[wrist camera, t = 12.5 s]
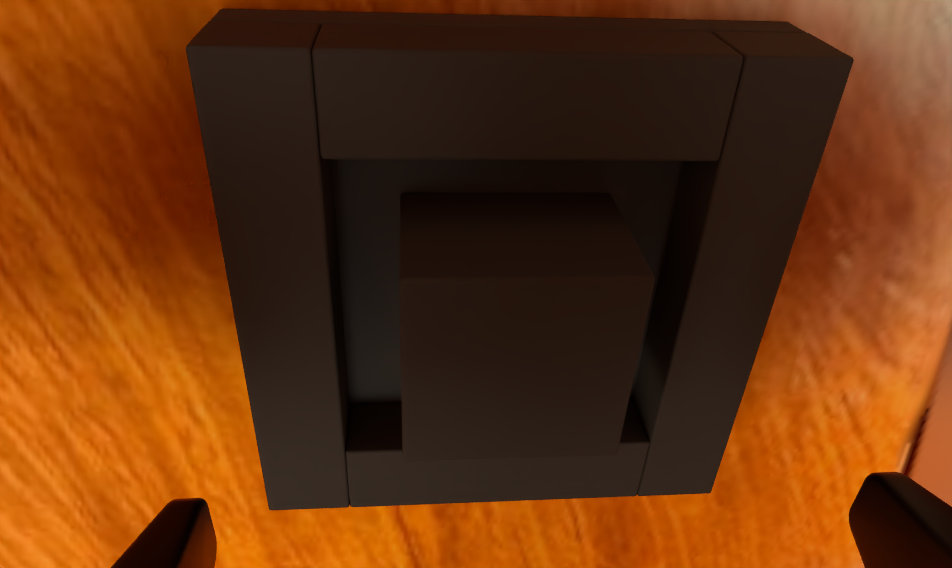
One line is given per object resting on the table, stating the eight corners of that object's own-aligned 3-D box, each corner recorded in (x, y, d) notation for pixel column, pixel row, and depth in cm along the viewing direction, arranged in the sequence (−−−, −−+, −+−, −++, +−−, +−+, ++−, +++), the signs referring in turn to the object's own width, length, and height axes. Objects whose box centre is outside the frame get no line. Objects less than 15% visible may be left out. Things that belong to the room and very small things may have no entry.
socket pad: (789, 20, 13) (855, 58, 11) (679, 422, 18) (711, 494, 16) (218, 7, 12) (183, 45, 10) (283, 434, 18) (268, 511, 16)
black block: (611, 191, 14) (657, 277, 11) (584, 354, 16) (618, 457, 13) (400, 190, 13) (398, 280, 11) (403, 358, 15) (402, 464, 13)
